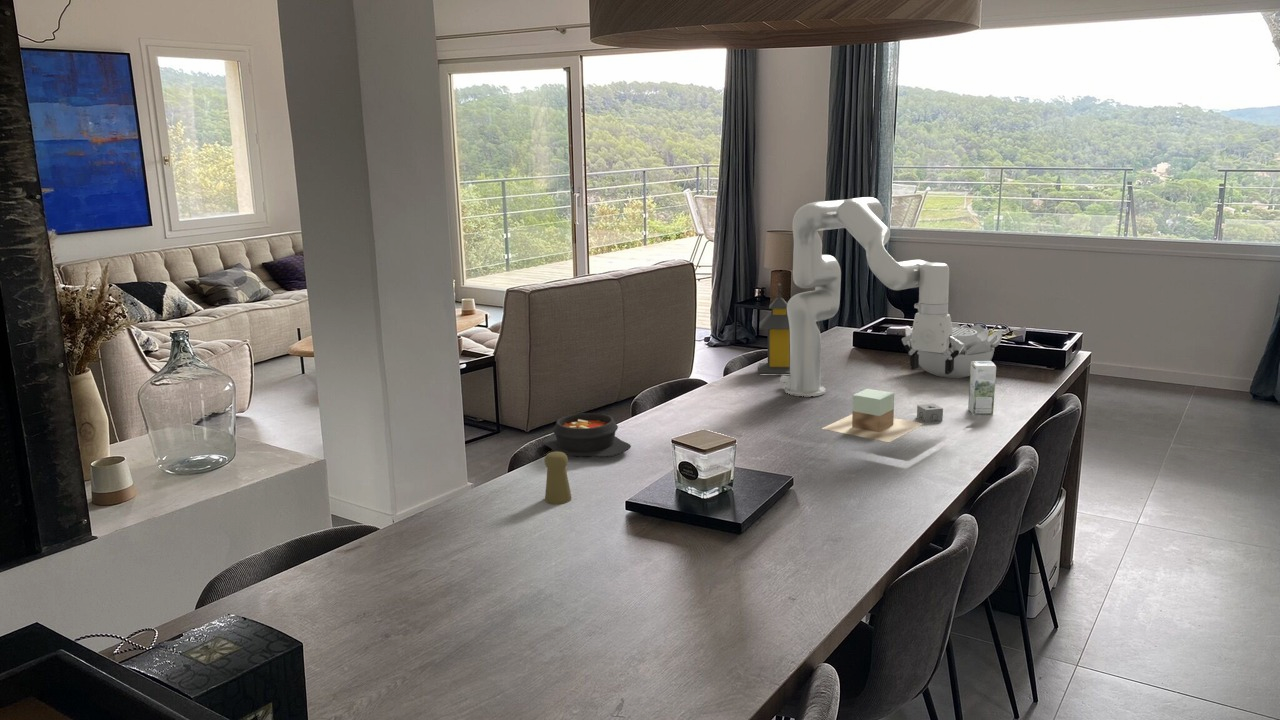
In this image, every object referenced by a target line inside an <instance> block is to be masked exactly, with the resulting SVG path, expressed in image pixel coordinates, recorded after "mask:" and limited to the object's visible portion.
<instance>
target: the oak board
mask: <svg viewBox="0 0 1280 720" xmlns="http://www.w3.org/2000/svg"><path fill="white" fill-rule="evenodd" d="M924 424H925V423H923V422H917V421H911V420H907V419H901V418H895V417H894V420H893V425H892V426H891V427H889V428H887V429H885V430H883V431H881V432H875V431H870V430H865V429H859V428H854V427H852V413H851V414H850V415H847V416H845V417H843V418H841V419H839V420H836V421H835V422H832V423H830V424H828V425H826V426H824V427H822V428H821V430H825V431H831V432H836V433H840V434H845V435H850V436H855V437H860V438H865V439H870V440H873V441H874V440H875V441H880V442H885V443H891V442H893V441H895V440H897V439H899V438H901V437H903V436H904V435H906V434H909V433H910V432H911V431H913V430H916V429H917V428H919V427H920V426H922V425H924Z"/></svg>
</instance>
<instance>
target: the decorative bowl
mask: <svg viewBox="0 0 1280 720" xmlns="http://www.w3.org/2000/svg"><path fill="white" fill-rule="evenodd" d="M951 322H952V333H953V337H954V338H956V339H957V340H959V341H960V342H962V343H963V344H964V347H963V349H962V351H961V353H960V354H959V355H958V356H956V358H954V369H953V371H952V373H950V374H945V360H947V357H946V356H945V354H944V353H936V352H927V351H918V352H917V354H918V355H919V367H920V368H922V369H923V370H924V371H926V372H927V373H929V374H931V375H933V376H937V377H940V378H946V379H963V378H968V377H970V368H971V361H991V362H992V359H993V356H994V354H995V353H994V352H995V348H996V347H998V346H999V345H1000V343H1002V339H1003V329H998V330H996V331H995V332H993V333H991V334H990V335H989V333H990V332H989V329H984V327H983V326H981V325H980V324H977V325H973V326H971V327H969V328H967V327H962V326H961V325H960V324H959V323H957V322H954V321H951ZM904 333H905V334H904V335H905V337H906V336H908V335H911V334H912V329H911V328H910V327H907V326H905V332H904ZM909 343H910V345H911V339H910V340H909ZM956 348H957V347H956V346H955V345H954V344H953V345H952V351H953V352H954V351H955V350H956Z"/></svg>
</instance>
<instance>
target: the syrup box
mask: <svg viewBox="0 0 1280 720" xmlns="http://www.w3.org/2000/svg"><path fill="white" fill-rule="evenodd" d="M996 374H997V365H996V364H995V363H994V362H993V361H992V360H991V361H971V368H970V376H969V389H968V407H967V408H968V410H969V412H971V414H973V415H994V406H995V392H996V390H995V389H996V376H997V375H996Z"/></svg>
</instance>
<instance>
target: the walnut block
mask: <svg viewBox="0 0 1280 720" xmlns="http://www.w3.org/2000/svg"><path fill="white" fill-rule="evenodd" d="M851 414H852V427H854V428H859V429H865V430H870V431H875V432H881V431H883V430H885V429H887V428H889V427H891V426H892V425H893V420H894V418H895V417H894V416H895V415H894V414H895V408H894V409H893V410H891V411H889V412H887V413H885V414H883V415H881V416H877V415H871V414H866V413H860V412H855V411H853V410H851Z"/></svg>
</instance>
